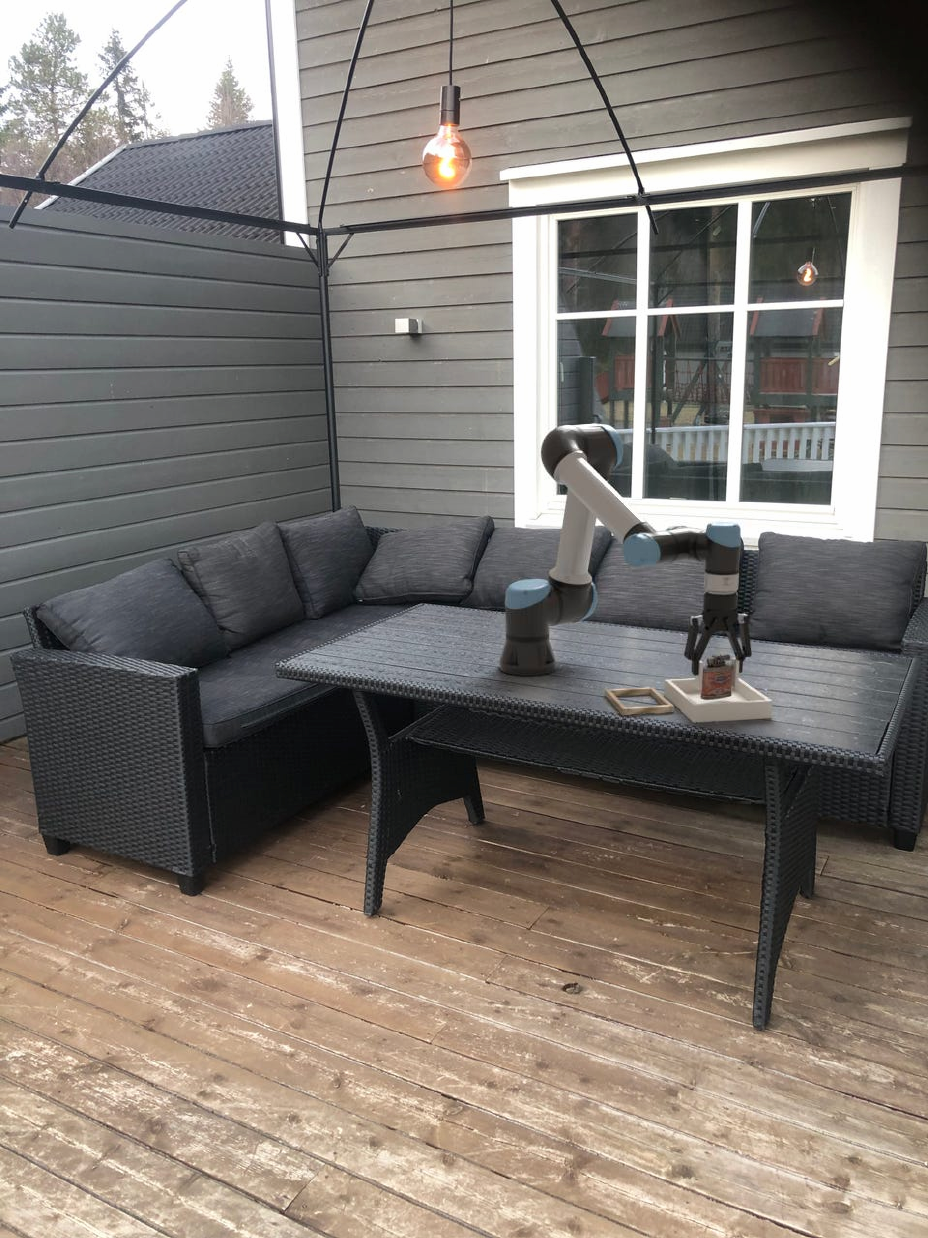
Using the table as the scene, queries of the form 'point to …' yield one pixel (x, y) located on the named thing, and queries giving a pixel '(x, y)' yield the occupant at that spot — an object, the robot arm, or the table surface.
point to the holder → (664, 707)
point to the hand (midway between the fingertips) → (716, 687)
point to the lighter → (716, 678)
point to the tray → (717, 702)
